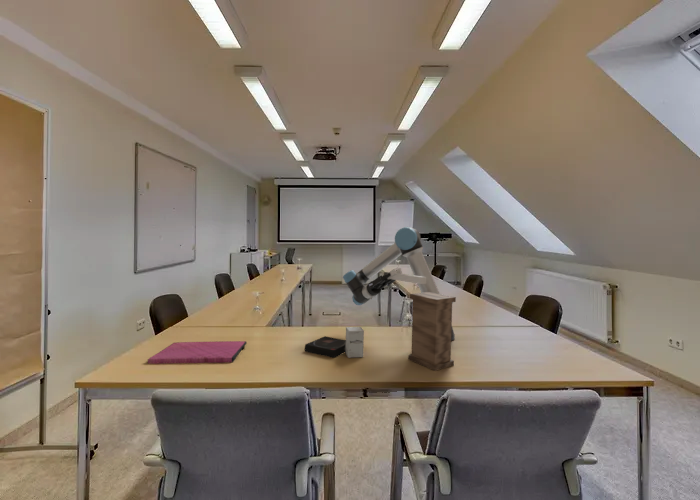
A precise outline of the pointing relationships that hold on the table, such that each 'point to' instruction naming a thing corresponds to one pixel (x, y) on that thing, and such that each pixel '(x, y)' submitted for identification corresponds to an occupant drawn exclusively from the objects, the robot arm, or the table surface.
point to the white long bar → (408, 278)
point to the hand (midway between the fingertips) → (397, 271)
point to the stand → (431, 330)
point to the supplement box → (354, 342)
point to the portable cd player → (326, 347)
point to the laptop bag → (199, 352)
